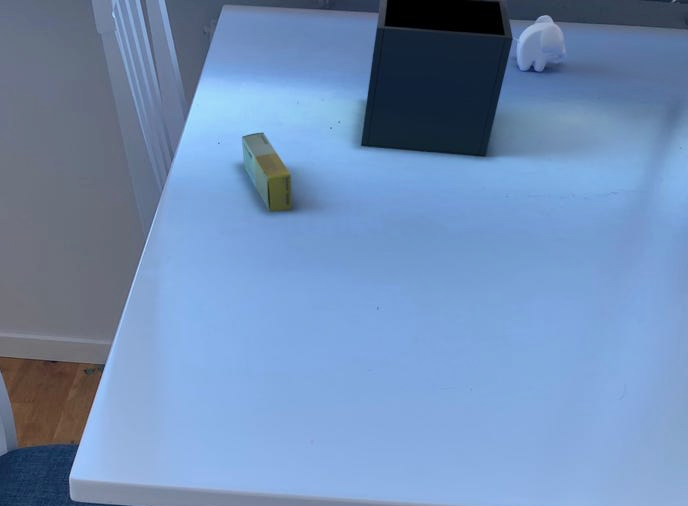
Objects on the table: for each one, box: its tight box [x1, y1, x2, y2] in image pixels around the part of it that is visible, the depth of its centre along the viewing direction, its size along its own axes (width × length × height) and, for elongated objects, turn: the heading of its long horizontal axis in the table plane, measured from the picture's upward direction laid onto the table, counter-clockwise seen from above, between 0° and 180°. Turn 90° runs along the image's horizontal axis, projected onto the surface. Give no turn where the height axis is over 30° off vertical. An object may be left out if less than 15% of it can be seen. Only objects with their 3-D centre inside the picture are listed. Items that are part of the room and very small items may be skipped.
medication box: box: [241, 132, 293, 212], centre depth 102 cm, size 12×3×4 cm, turn 12°
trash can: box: [360, 0, 514, 158], centre depth 111 cm, size 15×15×13 cm
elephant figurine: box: [513, 15, 568, 73], centre depth 131 cm, size 7×8×6 cm
